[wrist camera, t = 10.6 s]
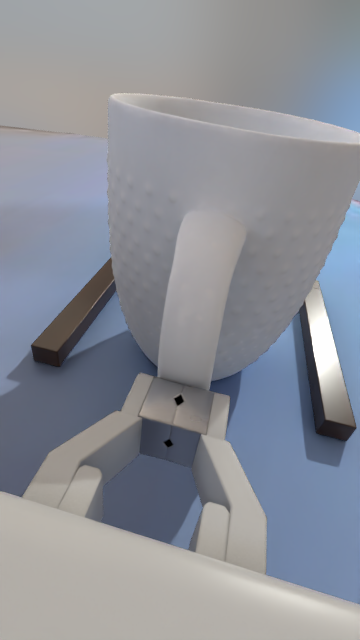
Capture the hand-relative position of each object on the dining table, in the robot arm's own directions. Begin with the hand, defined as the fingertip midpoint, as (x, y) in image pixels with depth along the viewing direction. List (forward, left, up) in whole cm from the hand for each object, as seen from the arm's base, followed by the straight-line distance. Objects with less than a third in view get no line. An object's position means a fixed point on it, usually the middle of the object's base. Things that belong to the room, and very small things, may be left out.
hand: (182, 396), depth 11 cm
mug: (0, +8, -6) cm, 10 cm away
